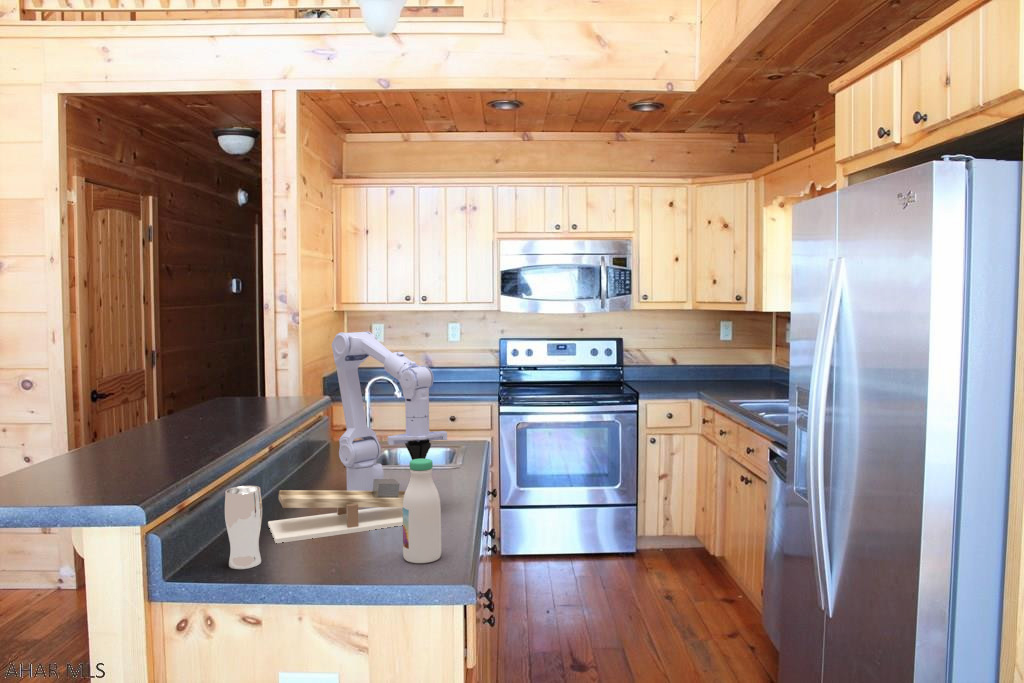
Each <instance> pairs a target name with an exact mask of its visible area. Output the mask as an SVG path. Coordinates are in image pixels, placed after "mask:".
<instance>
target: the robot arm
mask: <svg viewBox="0 0 1024 683" xmlns="http://www.w3.org/2000/svg"><path fill="white" fill-rule="evenodd" d="M377 339H378V338H377V336H376V334H373V333H372V332H370V331H368V330H366V331H361V332H359V331H358V332H338V333H336V334H335V337H334V338H333V340H332V342H331V349H332V354H333V360H334V364H335V367H336V368H335V369H336V372H337V378H338V385H339V393H340V396H341V398H340V399H341V404H342V409H343V415H344V416H343V417H344V421H345V428H346V430H345V432H344V433H343V434H342V435H341V436H340V437H339V451H338V457H339V459H340V461H341V463H342V464H343V466H344V467H345V469H346V472H345V473H346V491H373V481H374V479H385V477H384V476H385V475H384V468H383V465H382V464H381V463H379V462H377V460H378V459H379V458H380V456H381V449H382V448H381V444H380V442H379V441H378V438H377V434H376V432H375V431H374V430H373V429H372V428H370V427H369V426H368V423H367V418H366V413H365V406H364V401H363V400H364V399H363V395H362V389H361V388H362V387H361V383H360V377H359V376H360V375H359V372H358V369H359V367H360V366H361V364H363V363H364V362H365V361H366V360H367V359H368V358H369V357H371V358H373V359H374V360H376V361H378V362H379V363H381V364H383V369H384V371H385V372H386V373H388V374H389V375H391V376H392V377H393V378H395V379H396V380H398V381H399V385H400V387H401V389H402V395H403V398H404V402H405V403H404V404H405V405H404V406H405V407H404V408H405V410H404V411H405V432H404V433H401V434H395V435H393V434H392V435H387V445H389V446H394V445H400V444H402V445H403V444H404V445H405V447H406V449H407V451H408V453H409V456H410V458H411V460H414V459H427V454H428V453H429V451H430V448H431V446H432V443H431V442H433V441H447V440H448V432H447V431H445V430H440V431H430V391H429V390H430V388H432V386H433V385H434V384H433V383H434V373H433V371H432V369H431V368H430V367H429V366H428V365H419V364H417V362H416V361H414V360H411V359H409V358H408V357H407V356H405V355H406V354H405V353H404V352H403V351H394V352H392V351H391V350H389V349H388V348H387V347H385V345H383V344H382V343H381V342H380V341H379V340H377Z"/></svg>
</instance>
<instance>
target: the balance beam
mask: <svg viewBox="0 0 1024 683" xmlns="http://www.w3.org/2000/svg"><path fill="white" fill-rule="evenodd" d="M405 492H406V490H399V494H398V498H374V497H373V496H372V491H347V490H321V489H320V490H315V489H313V490H312V489H311V490H306V489H305V490H301V489H300V490H293V489H289V490H287V489H285V490H282V489H280V490H279V491H278V501H279V503H280V504H281V507H282V508H283V509H296V508H298V509H299V508H301V509H304V508H305V509H306V508H308V509H309V508H312V509H313V508H318V509H319V508H320V509H321V508H323V509H325V508H326V509H327V508H331V509H332V508H336V509H337V508H341V507H346V505H349V504H358V508H377V507H403V499H404V494H405Z"/></svg>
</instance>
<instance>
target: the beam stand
mask: <svg viewBox="0 0 1024 683" xmlns="http://www.w3.org/2000/svg"><path fill="white" fill-rule="evenodd" d="M402 525H403V507H369V508H364V509H359V507H358V504H349V505H346V507H341V508H336V512H332V513H324V514H317V515H309V516H301V517H293V518H292V517H291V518H285V519H278V520H269V521H267V526H268V528H270V529H269V532H270V533H272V534H271V536H272V538H274V539H273V541H274V543H275V544H276V543H277V544H282V542H284V543H289V542H290V543H291V542H296V541H297V542H298V541H304V540H311V539H312V538H313V539H318V538H319V539H320V538H326V537H332V536H339V535H340V536H341V535H347V534H353V533H354V534H355V533H362V532H369V530H370V531H376V530H375V529H377V530H382V529H381V528H384V529H388V528H387V527H391V528H395V527H394V526H398V527H403V526H402Z"/></svg>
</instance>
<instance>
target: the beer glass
mask: <svg viewBox="0 0 1024 683" xmlns="http://www.w3.org/2000/svg"><path fill="white" fill-rule="evenodd" d="M224 494H225V496H224V498H225V499H224V520H225V526H226V531H227V534H228V535H227V536H228V541H229V546H230V552H229V553H230V554H229V560H228V568H230V569H233V570H247V569H252V568H254V567H257V566H259V565H260V564H261V563H262V557H261V553H260V546H259V545H260V543H259V542H260V535H261V534H260V532H261V526H262V520H263V502H262V493H261V487H260V486H257V485H241V486H239V485H238V486H235V487H230V488H228V489H226V490H225V492H224Z"/></svg>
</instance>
